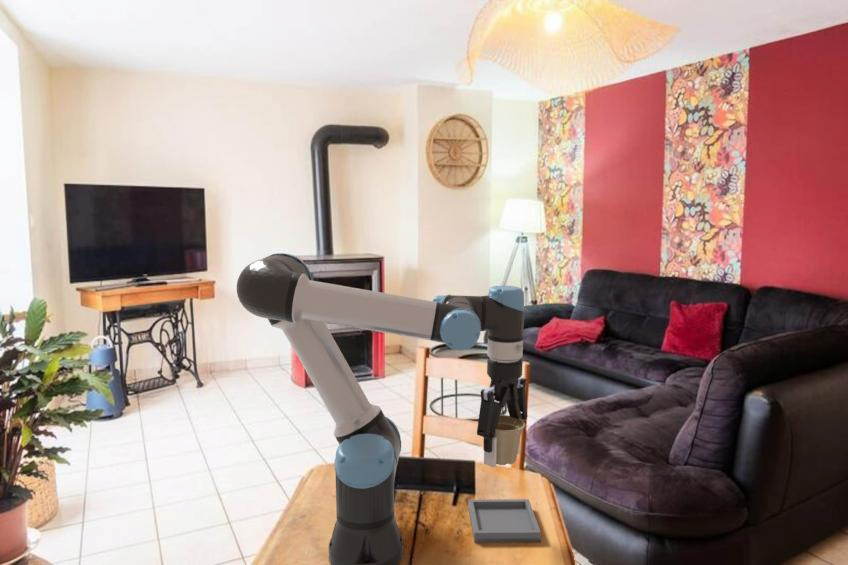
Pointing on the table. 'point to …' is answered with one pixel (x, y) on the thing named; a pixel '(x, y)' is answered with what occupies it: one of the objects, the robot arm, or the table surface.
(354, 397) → the robot arm
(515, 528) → the plant tray
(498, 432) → the flower pot
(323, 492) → the table surface
